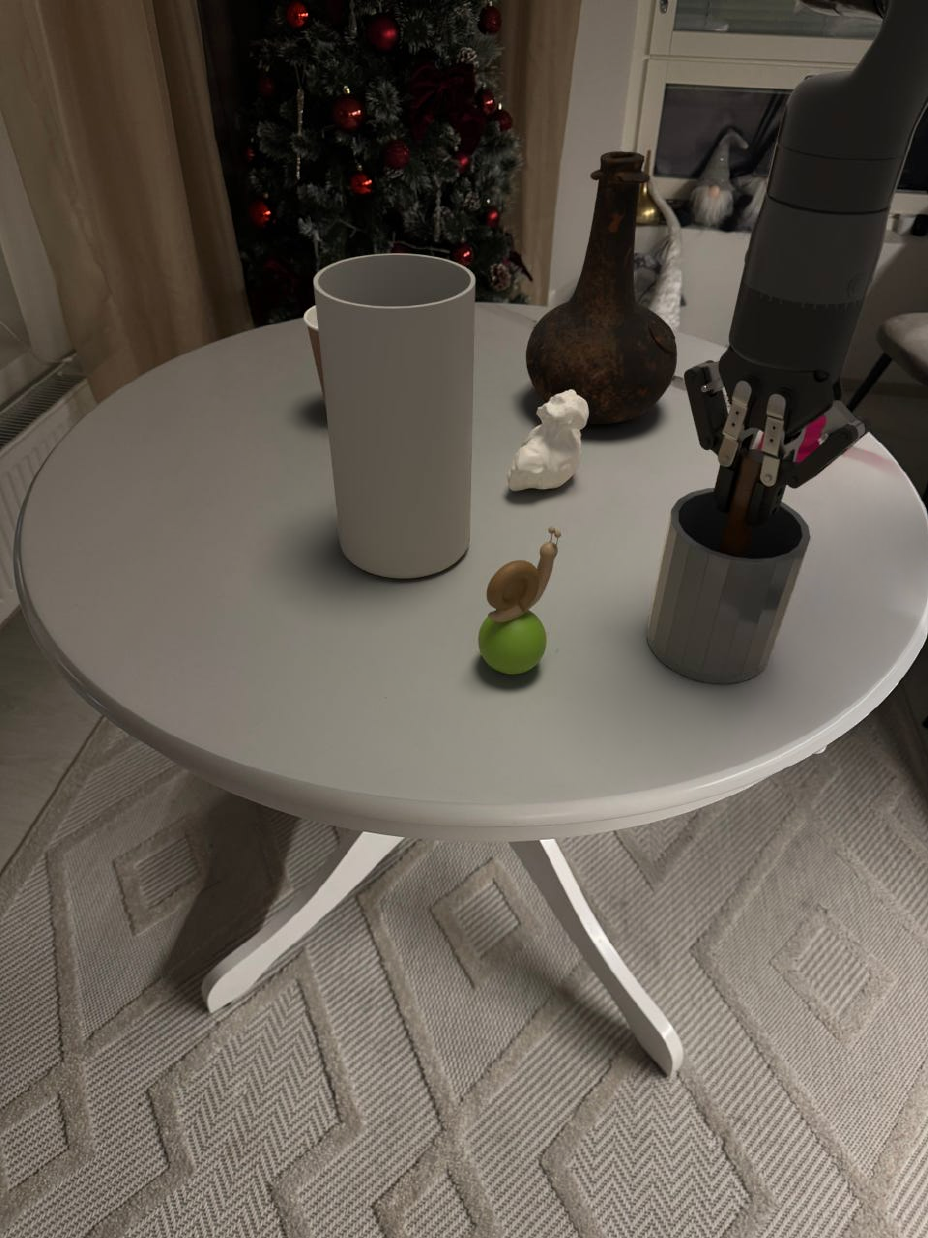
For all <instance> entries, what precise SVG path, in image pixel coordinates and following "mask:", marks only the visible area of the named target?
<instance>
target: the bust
mask: <svg viewBox="0 0 928 1238" xmlns="http://www.w3.org/2000/svg"><path fill="white" fill-rule="evenodd" d="M535 414H536V415H537V416H538V417H539V418H540V419H539V420H540V421H541V424H539V425H537V426H535V427H534V428H533V429H531V430H530V431H529V432H528V434H527V437H526V438H525V440H524V441H523V442H522V443H521V445H520V448H519V449H518V450H517V451H516V453H515V454H514V456H513V458H512V460H511V462H510V465H509V466H508V470H507V475H506V476H507V477H506V479H507V484H508V488H509V489H510V490H511V491H513V492H519V491H524V490H527V489H537V490H548V489H556V488H559V487H561V486H563V485H564V484H565V483H566V482H568V481H569V480H570V479H571V477H573V476H574V475H575V473H576V472H577V471H578V469H579V465H580V462H581V458H582V452H581V449H582V441H581V437H582V434H581V431H580V430H582V429H584V428H585V426H586V425H587V424H588V423H587V419H588V416H589V410H588V405H587V402H586V401H585V400H584V399H583V398H582V397H580V396H579V395H577V394H576V392H575V391H574V390H571V389H570V390H568V391H565V392H563V393H560V394H556V395H555V396H553V397H551V398H550V401H549V402H548V403H545V402H544V403H543V405H542V406H538V407H537V410H536V413H535Z"/></svg>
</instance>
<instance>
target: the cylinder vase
mask: <svg viewBox="0 0 928 1238" xmlns="http://www.w3.org/2000/svg"><path fill="white" fill-rule="evenodd" d="M313 290H314V291H313V293H314V301H315V305H316V312H317V322H318V332H319V341H320V351H321V361H322V371H323V381H324V391H325V401H326V406H325V409H326V419H327V428H328V429H327V430H328V439H329V449H330V451H329V452H330V460H331V470H332V478H333V489H334V499H335V508H336V518H337V519H336V520H337V526H338V527H337V529H338V538H339V545H340V549H341V551H342V553H343V554H344V555H345V557H346V558H347V560H349V561H350V563H352V564H353V565H355V567H357V568H359V569H361V570H363V571H364V572H367V573H368V574H369V573H370V574H372V575H375V576H378V577H382V578H383V577H384V578H390V579H415V578H422V577H427V576H430V575H434V574H437V573H439V572H442V571H444V570H446V569H448V568H449V567H451V566H453V565H454V564H455V563H456V562H458V561H459V560H460V559H461V558H462V557H463V556H464V554H465V553H466V551H467V550H468V548H469V544H470V539H471V509H472V506H471V505H472V504H471V503H472V501H471V500H472V464H473V463H472V461H473V460H472V459H473V458H472V457H473V414H474V411H473V409H474V408H473V407H474V406H473V405H474V365H475V364H474V361H475V358H474V357H475V318H476V317H475V311H476V310H475V309H476V277H475V274H474V273H473V272H472V271H471V270H470V269H469V268H467V267H466V266H464V265H462V264H460V263H458V262H455V261H453V260H449V259H447V258H441V257H439V256H432V255H425V254H416V253H378V254H377V253H376V254H368V255H366V254H365V255H361V256H360V255H359V256H355V257H349V258H347V259H346V258H345V259H342V260H339V261H336V262H334V263H331V264H329V265H326V266H325V267H323V268H322V269H320V270H319V271H318V272H317V273H316V274H315V276H314V277H313Z"/></svg>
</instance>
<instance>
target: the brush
mask: <svg viewBox="0 0 928 1238" xmlns="http://www.w3.org/2000/svg"><path fill="white" fill-rule="evenodd" d="M763 458H764V453H762V451H761V450H759V448H758V449H757V448H752V449H749V450H746V451H745V452H744V453H743V456H742V460H741V464H740V468H739V472H738V475H737V479H736V483H735V487H734V491H733V495H732V499H731V503H730V506H729V510H728V514H727V518H726V522H725V526H724V530H723V534H722V537H721V541H720V545H719V549H718V552H719V553H722V554H726V555H729V556H733V557H741V558H744V556H745V552H746V549H747V545H748V542H749V538H750V535H751V531H752V528H753V527H752V526H750V525H748V524H746V519H747V515H748V511H749V508H750V504H751V500H752V497H753V493H754V490H755V486H756V482H758V481H759V480H760V474H761V469H762V463H763Z"/></svg>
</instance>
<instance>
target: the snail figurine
mask: <svg viewBox="0 0 928 1238" xmlns="http://www.w3.org/2000/svg"><path fill="white" fill-rule="evenodd" d="M548 533H549V534H550V540H549V541H547V542H544V543H543V544H542V545H541V546H540V549H539V561H538V563H537V566H535V565H534V564H533V563H532V562H529V561H527V560H524V559H517V560H512V561H510V562H507V563H505V564H504V565H502V566H501V567H500V568H499V569H498V570H497V571H496V572H494V574H493V576H492V577H491V578H490V580H489V582H488V584H487V588H486V600H487V603H488V605H489V606H490V607H491V608H493V609H495V610H493V611H490V612H488V614H487V616H486V618H485V619H484V620H483V622H482V623H481V626H480V628H479V631H478V636H477V644H478V649H479V653H480V655H481V657H482V659H483V660H484V661H485V662H486V664H487V665H488V666H489V667H490V668H492V669H493V670H494V671H497V672H499V673H501V674H505V675H519V674H523V673H526V672H528V671H530V670H531V669H533V668H535V666H537V665H538V664H539V662H540V661H541V660H542V658H543V656H544V654H545V652H546V650H547V649H546V648H547V642H548V641H547V639H548V638H547V632H546V629H545V626H544V624H543V622H542V621H541V619H540V618H539V617H538V616H537V615H536V613H534V612H533V611H531V610H530V609H532V608H533V607H534V606H535V605H536V604H537V603H538V602H539V601H540V600H541V598H542V597H543V595H544V593H545V591H546V589H547V586H548V584H549V582H550V579H551V576H552V572H553V568H554V561H555V559H556V557H557V555H558V552H559V548H558V543H559V538H560V537H562V532H561V531H560V530H556V528H555V527H554V526H549V527H548ZM553 536H554V537H555V538H556V543H555V542H554V541H552V540H553Z"/></svg>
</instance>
